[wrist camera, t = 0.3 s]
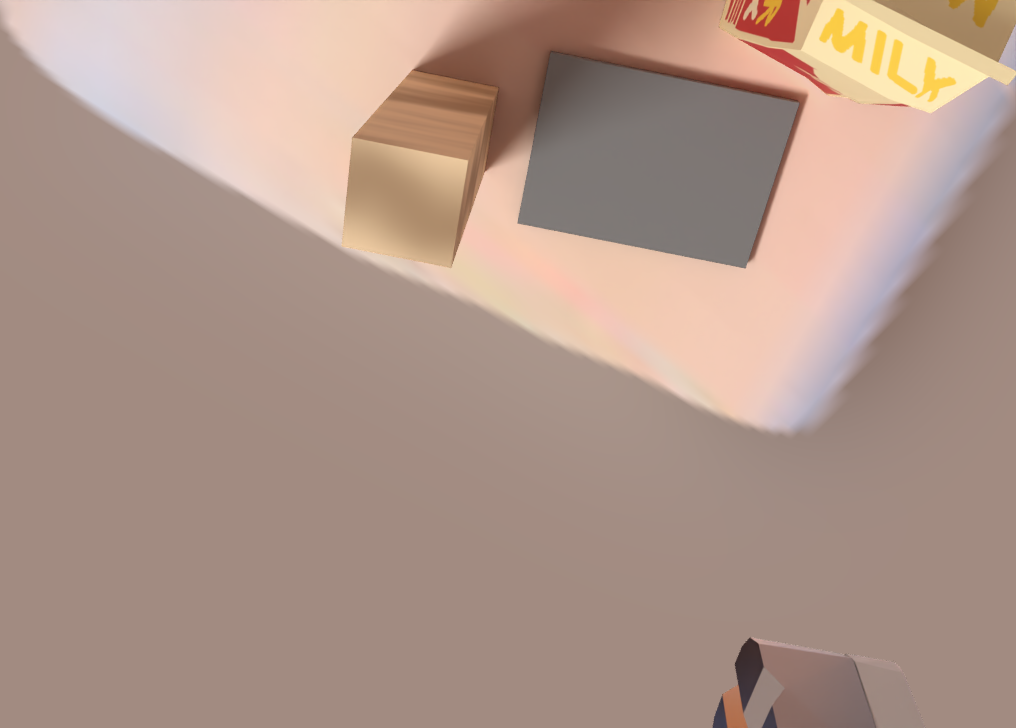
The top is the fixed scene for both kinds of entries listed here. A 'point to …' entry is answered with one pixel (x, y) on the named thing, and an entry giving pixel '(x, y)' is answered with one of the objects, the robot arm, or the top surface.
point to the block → (419, 168)
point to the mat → (653, 159)
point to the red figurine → (881, 45)
